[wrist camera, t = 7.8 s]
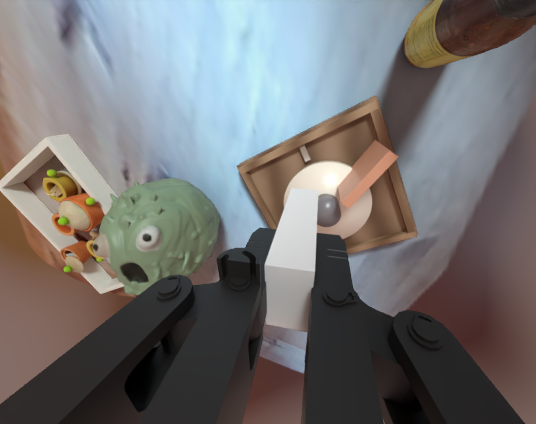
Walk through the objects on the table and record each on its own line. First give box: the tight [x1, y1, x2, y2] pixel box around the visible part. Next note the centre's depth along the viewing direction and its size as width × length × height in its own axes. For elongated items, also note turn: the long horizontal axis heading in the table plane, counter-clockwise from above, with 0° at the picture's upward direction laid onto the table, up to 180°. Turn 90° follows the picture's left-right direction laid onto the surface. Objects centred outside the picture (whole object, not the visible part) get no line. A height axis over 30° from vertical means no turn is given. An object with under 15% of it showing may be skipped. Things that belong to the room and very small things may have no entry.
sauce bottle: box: [403, 0, 536, 68], centre depth 17 cm, size 7×6×20 cm
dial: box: [284, 140, 398, 239], centre depth 30 cm, size 18×13×8 cm
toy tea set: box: [43, 170, 105, 273], centre depth 48 cm, size 26×16×10 cm, turn 166°
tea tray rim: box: [0, 134, 124, 294], centre depth 51 cm, size 23×33×4 cm
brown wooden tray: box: [237, 96, 418, 254], centre depth 36 cm, size 22×22×3 cm
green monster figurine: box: [93, 178, 220, 295], centre depth 35 cm, size 16×19×20 cm
